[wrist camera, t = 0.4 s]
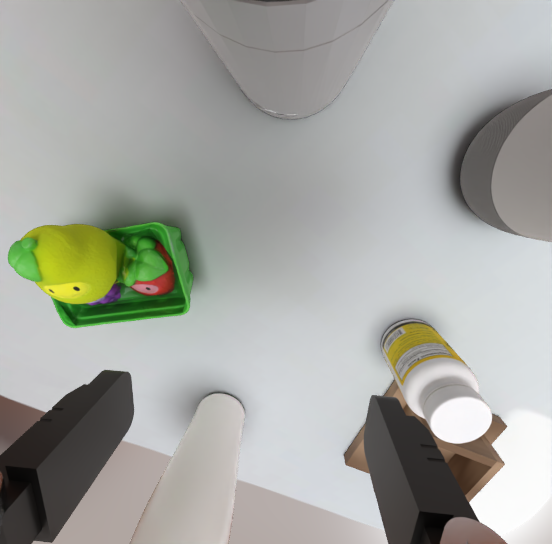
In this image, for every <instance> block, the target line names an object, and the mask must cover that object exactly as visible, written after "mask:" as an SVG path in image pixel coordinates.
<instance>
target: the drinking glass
mask: <svg viewBox="0 0 552 544" xmlns="http://www.w3.org/2000/svg"><path fill="white" fill-rule="evenodd" d="M244 420H245V412H244V409H243V407H242V405H241V403H240V402H239V401H238V400H237V399H235V398H234V397H232V396H230V395H227V394H222V393H216V394H211V395H209V396H207V397H205V398H204V399H203V400H202V401H201V402H200V403H199V405H198V407H197V409H196V412H195V414H194V417H193V419H192V420H191V422H190V424H189V426H188V428H187V430H186V432H185V434H184V436H183V438H182V439H181V441H180V443H179V445H178V447H177V449H176V451H175V452H174V454H173V456H172V458H171V460H170V462H169V464H168V465H167V467H166V469H165V471H164V473H163V475H162V476H161V478H160V480H159V482H158V484H157V486H156V488H155V490H154V492H153V493H152V495H151V497H150V499H149V501H148V503H147V505H146V507H145V509H144V512H143V514H142V516H141V518H140V520H139V523H138V525H137V527H136V529H135V532H134V534H133V536H132V539H131V541H130V544H228V543H229V538H230V532H231V525H232V518H233V509H234V500H235V491H236V482H237V472H238V463H239V454H240V445H241V437H242V430H243V425H244Z"/></svg>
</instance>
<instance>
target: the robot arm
mask: <svg viewBox="0 0 552 544" xmlns="http://www.w3.org/2000/svg"><path fill="white" fill-rule="evenodd" d="M180 1H181V3H182V4H183V5H184V7H185V8H186V10H187V11H188V13H189V14H190V16H191V17H192V19H193V20H194V21H195V23H196V24H197V26H198V27H199V29H200V30H201V32H202V33H203V34H204V36H205V37H206V39H207V40H208V42H209V43H210V45H211V46H212V47H213V49H214V50H215V52H216V53H217V55H218V56H219V58H220V59H221V61H222V62H223V63H224V65H225V66H226V68H227V69H228V71H229V72H230V74H231V75H232V76H233V78H234V79H235V81H236V82H237V84H238V85H239V86H240V88H241V89H242V90H241V91H242V92H243V93H244V94H245V95H246V97H247V98H248V99H249V100H250V101H251V102H252V103H253V104H254V105H255V106H256V107H257V108H259V109H260V110H262V111H264V112H265V113H267V114H269V115H271V116H275V117H278V118H281V119H299V118H305V117H308V116H311V115H313V114H316V113H318V112H319V111H321V110H322V109H324V108H325V107H327V106H328V105H329V104H330V103H331V102H332V101H333V100H334V99H335V98H336V97H337V96H338V95H339V94H340V92H341V91H342V89H343V88H344V86H345V84H346V83H347V81H348V80H349V78H350V76H351V74H352V73H353V71H354V70H355V68H356V66H357V64H358V63H359V61H360V59H361V57H362V56H363V54H364V52H365V50H366V49H367V47H368V45H369V44H370V42H371V40H372V38H373V37H374V35H375V33H376V31H377V30H378V28H379V26H380V24H381V23H382V21H383V19H384V17H385V16H386V14H387V12H388V10H389V9H390V7H391V5H392V3H393V2H394V0H180ZM133 415H134V404H133V392H132V381H131V375H130V373H129V372H123V371H112V370H104V371H102V372H101V373H100V374H99V375H98V376H97V377H96V378H95V379H94V380H93V381H92V382H91V383H90V384H88V385H85V384H84V385H82V386H81V387H79V388H77V389H75V390H74V391H72V392H70V393H68V394H67V395H65V396H64V397H63V398H62V399H61V400H60V401H59V402H58V403H57V404H56V405H55V406H53V407H52V410H49V411H48V412H47V413H46V414H45V415H44V416H43V417H41V419H40V421H37V422H36V423H35V424H34V425H33V426H32V427H31V428H30V429H28V430H27V431H26V432H25V433H24V434H23V435H22V436H21V437H20V438H19V439H18V440H16V441H15V442H14V443H13V444H12V445H11V446H10V447H9V448H8V449H7V450H6V451H5V452H4V453H2V454H1V455H0V544H31V543H32V542H33V541H43V542H51V543H52V542H53V541H54V539H55V538H56V536H57V535H58V533H59V532H60V530H61V529H62V528H63V526H64V524H65V523H66V522H67V520H68V519H69V517H70V516H71V514H72V512H73V511H74V510H75V508H76V507H77V505H78V504H79V502H80V501H81V499H82V498H83V496H84V495H85V493H86V492H87V491H88V489H89V488H90V486H91V485H92V483H93V482H94V480H95V478H96V477H97V476H98V474H99V473H100V471H101V470H102V468H103V467H104V465H105V464H106V462H107V461H108V459H109V458H110V456H111V455H112V454H113V452H114V451H115V449H116V448H117V446H118V445H119V443H120V442H121V440H122V439H123V437H124V436H125V434H126V433H127V431H128V430H129V428H130V426H131V423H132V420H133ZM364 452H365V457H366V460H367V464H368V468H369V472H370V476H371V479H372V483H373V487H374V491H375V495H376V498H377V502H378V506H379V510H380V514H381V517H382V521H383V525H384V529H385V532H386V537H387V540H388V544H507V543H506V542H505V541H504V540H503V539H502V538H501V537H500V536H499V535H498V534H497V533H495V532H494V531H493V530H492V529H490V528H489V527H487V526H486V525H484V524H482V523H480V522H479V520H478V519H477V517H476V515H475V513H474V511H473V509H472V508H471V506H470V504H469V502H468V500H467V499H466V497H465V495H464V493H463V491H462V489H461V488H460V486H459V484H458V482H457V480H456V479H455V477H454V475H453V473H452V471H451V469H450V468H449V466H448V464H447V463H445V459H444V457H443V455H442V453H441V451H440V449H438V446H437V444H436V442H435V440H434V438H433V437H432V435H431V433H430V431H429V430H428V429H427V428H426V427H425V426H424V425H423V424H422V423H421V422H420V421H419V420H418V419H417V418H416V417H415V416H407V415H406V414H405V412H404V410H403V408H402V406H401V404H400V402H399V400H398V399H397V398H396V397H388V396H377V395H372V396H371V398H370V403H369V408H368V414H367V419H366V424H365V430H364Z"/></svg>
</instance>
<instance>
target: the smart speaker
mask: <svg viewBox="0 0 552 544" xmlns="http://www.w3.org/2000/svg"><path fill="white" fill-rule="evenodd" d="M460 182H461V189H462V193H463V196H464V199H465V201H466V203H467V204H468V206H469V207H470V209H471V210H472V211H473V212H474V213H475V214H476V215H477V216H478V217H479V218H480V219H482V220H483V221H484V222H486V223H487V224H489V225H491V226H493V227H495V228H497V229H500V230H502V231H505V232H508V233H512V234H515V235H519V236H523V237H527V238H532V239H537V240H543V241H548V242H552V89H551V90H548V91H544V92H541V93H538V94H536V95H533V96H530V97H528V98H526V99H524V100H521V101H519V102H517V103H516V104H514V105H512V106H510V107H509V108H507V109H505V110H504V111H502V112H501V113H499V114H498V115H497V116H495V117H494V118H493V119H492V120H490V121H489V122H488V123H487V124H486V125H485V126H484V127H483V128H482V129H481V130H480V132H479V133H478V134H477V135H476V137H475V138H474V139H473V141H472V142H471V144H470V146H469V148H468V150H467V152H466V154H465V157H464V159H463V163H462V167H461V174H460Z"/></svg>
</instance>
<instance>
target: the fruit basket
mask: <svg viewBox="0 0 552 544" xmlns="http://www.w3.org/2000/svg"><path fill="white" fill-rule="evenodd" d="M8 261H9V264H10V265H11V266H12V267H13V268H14V269H15V271H16V272H17V273H18V274H19V275H20V276H22V277H24V278H26V279H29V280H31V281H35V283H36V284H37V285H38V286H39V287H40V288H41V289H42V290H43V291H44V292H45V293H46V294H48V295H49V296H51V298H52V300H53V303H54V305H55V308H56V310H57V312H58V314H59V316H60V318H61V320H62V321H63V323H64V324H65V325H67V326H69V327H72V328H79V327H86V326H94V325H101V324H110V323H118V322H126V321H135V320H143V319H151V318H161V317H168V316H178V315H183V314H185V313H187V312H188V310H189V308H190V292H191V287H192V282H193V275H192V273H191V272H190V270H189V261H188V257H187V253H186V249H185V246H184V244H183V242H182V241H181V231H180V229H179V228H177V227H171V226H166V225H164V224H161V223H158V222H151V223H145V224H140V225H134V226H128V227H122V228H116V229H109V230H104V231H103V230H101V229H99V228H96V227H93V226H90V225H84V224H72V225H65V226H59V225H45V226H40V227H37V228H35V229H33V230H31V231H29V232H28V233H27V234H26V235H25V236H24V237H23V238H22V239H21V240H20V241H16V242H15V243H14V244H13V245H12V246H11V247H10V250H9V253H8Z"/></svg>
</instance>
